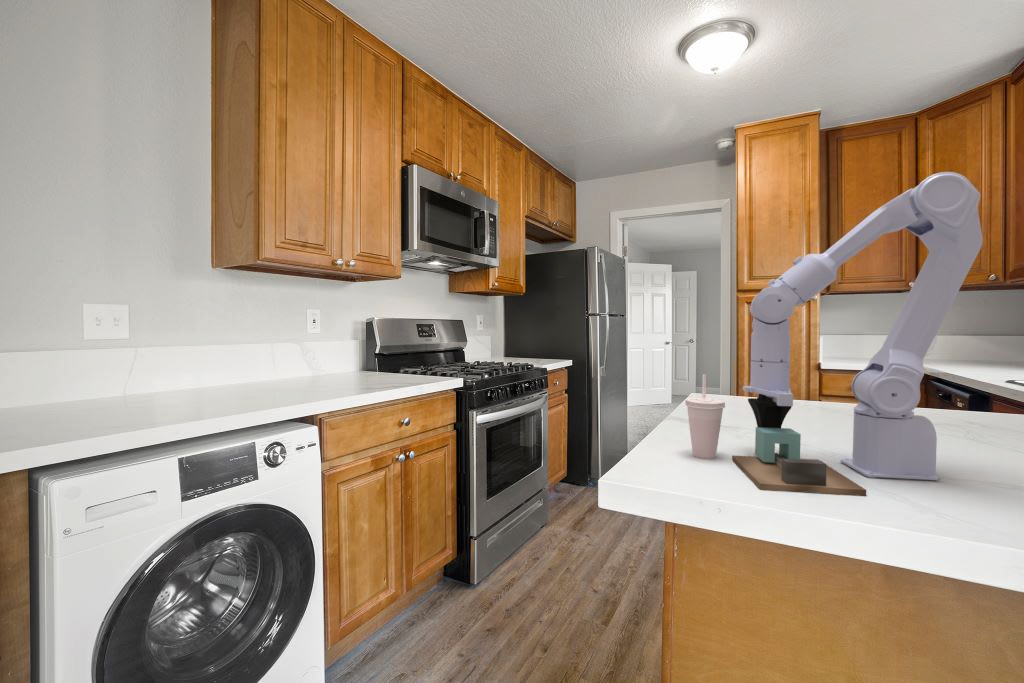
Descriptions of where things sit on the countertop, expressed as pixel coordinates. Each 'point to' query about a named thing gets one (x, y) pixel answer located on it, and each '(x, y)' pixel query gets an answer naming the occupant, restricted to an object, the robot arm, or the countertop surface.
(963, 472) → the countertop surface
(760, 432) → the block
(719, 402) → the smoothie
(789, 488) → the rail board
